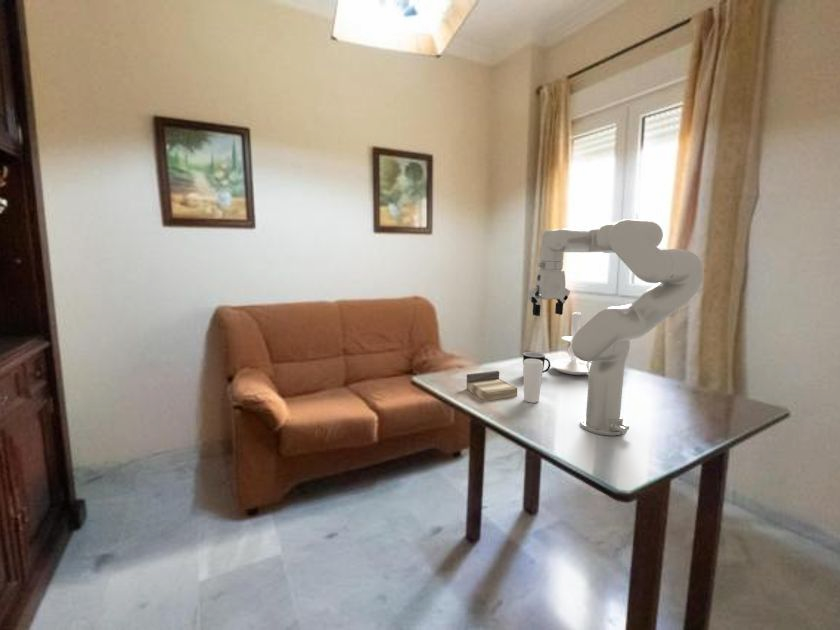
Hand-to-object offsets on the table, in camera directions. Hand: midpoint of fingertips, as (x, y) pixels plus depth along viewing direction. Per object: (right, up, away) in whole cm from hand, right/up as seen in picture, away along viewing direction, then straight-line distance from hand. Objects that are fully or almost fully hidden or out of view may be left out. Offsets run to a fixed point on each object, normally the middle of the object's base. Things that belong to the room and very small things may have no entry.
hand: (547, 314), depth 144 cm
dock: (-18, -30, +13) cm, 37 cm away
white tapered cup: (-4, -32, +5) cm, 32 cm away
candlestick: (+25, -27, +39) cm, 53 cm away
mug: (+5, -27, +33) cm, 43 cm away
